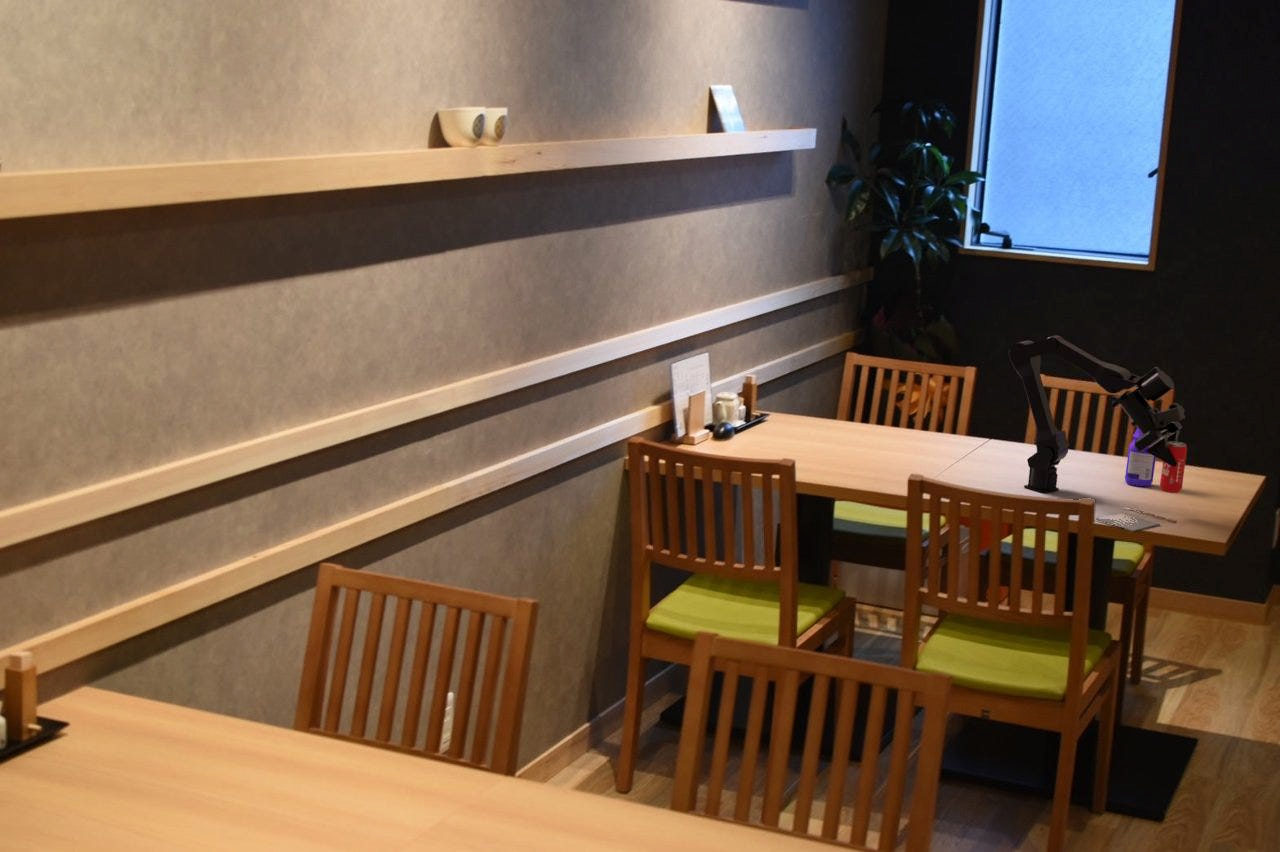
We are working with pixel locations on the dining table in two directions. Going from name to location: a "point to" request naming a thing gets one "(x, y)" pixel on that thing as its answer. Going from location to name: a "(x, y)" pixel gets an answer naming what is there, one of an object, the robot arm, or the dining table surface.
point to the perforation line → (1158, 516)
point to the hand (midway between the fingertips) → (1179, 463)
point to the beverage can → (1174, 468)
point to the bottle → (1139, 465)
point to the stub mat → (1135, 526)
